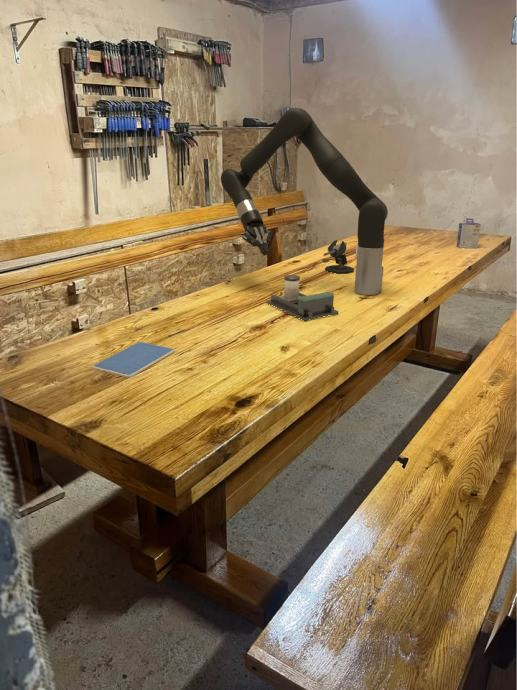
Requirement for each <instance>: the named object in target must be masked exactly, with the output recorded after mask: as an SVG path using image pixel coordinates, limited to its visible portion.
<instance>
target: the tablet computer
mask: <svg viewBox="0 0 517 690" xmlns="http://www.w3.org/2000/svg"><path fill="white" fill-rule="evenodd" d="M175 352H176V350H175V349H174V348H170V347H166V346H161V345H156V344H152V343H147V342H143V341H137V343H134V344H133V345H130V346H128V347H126V348H125V349H123V350H120V351H119V352H117V353H115V354H113V355H110V356H109V357H107V358H105V359H103V360H101V361H99V362H98V363H96V364H94V365H92V367H91V368H92V370H95V371H99V372H104V373H107V374H111V375H115V376H118V377H123V378H126V379H130V378H133V377H134V376H137V375H138V374H140V373H141V372H143V371H144V370H146V369H148V368H149V367H151V366H153V365H155V364H156V363H158V362H160V361H161V360H164V358H166V357H169V356H170V355H172V354H174V353H175Z"/></svg>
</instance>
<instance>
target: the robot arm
mask: <svg viewBox="0 0 517 690" xmlns="http://www.w3.org/2000/svg"><path fill="white" fill-rule="evenodd" d="M294 137H295V138H296V139H297V140H299V141H300V142H301V143H302V145H303V146H304V147H306V149H307V151H309V153H310V154H311V155H310V156H311V157H312V159H313V161H314V163H315V164H316V167H317V168H318V170H319V172H320V173H321V174H322V175H323V176H324V177H325V179H327V181H328V182H329V183H330V184H331V185H332V186H333V187H334V188H335V189H336V190H338V191H339V192H340V193H341V194H343V195H345V196H346V198H348V199H349V200H350V201H351V202H352V203H353V205H354V206H355V207H356V208H357V210H358V219H357V220H358V221H357V235H356V237H357V242H358V249H357V258H356V262H355V263H356V264H355V278H354V279H355V280H354V292H355V293H356V294H359V295H363V296H375V295H378V294H380V293H382V290H383V278H384V277H383V276H384V269H385V268H384V266H383V259H384V258H383V257H384V247H385V245H384V244H385V234H384V233H385V225H386V223H385V221H386V220H387V218H388V213H389V211H388V207H387V205H386V203H384V201H383V200H381V199H380V198H379V197H378V196H377V195H376V194H375V193H374V192H373V191H372V190H371V189H370V188H369V187H368V186H367V185H366V184H365V183H364V181H363V179H362V178H361V177H360V175H359V174H358V173H357V172H356V170H355V169H354V167H353V166H352V165H351V164H350V162H349V161H348V160H347V159H346V158H345V156H344V155H343V154H342V153H341V152H340V151H339V150H338V149H337V147H335V146H334V145H333V143H332V142H331V141H330V140H329V139H328V138H327V137H326V136H325V135H324V134H323V133H322V131H321V129H320V128H319V127H318V126H317V124H316V123H315V121H314V120H313V118H312V117H311V115H310V113H308V111H307V110H306V109H303V108H299V107H298V108H297V107H292V108H289V109H288V110H285V112H284V113H283V114H282V115H281V117H280V119H278V121H277V122H276V124H275V125H274V126H273V127H272V129H271V130H270V131H269V132H268V134H266V136H265V137H264V138H262V140H261V141H260V142H259V143H258V144H257V145H255V147H253V148H252V149H251V150H250V151H249V152H248V153H247V154H246V155H244V157H243V158H242V159H241V160H240V162H239V165H240V169H241V170H240V171H237V170H235V169H233V168H226V169H224V170H223V171H222V173H221V175H220V183H221V186H222V188H223V189H224V190H225V192H226V194H227V195H228V197H230V199H231V200H232V202H233V205H234V207H235V209H236V212H237V213H236V214H237V216H238V218H239V220H240V222H241V225H242V227H243V229H244V232H243V235H242V236H241V239H242V240H244V241H245V242H246V243H248V244H249V245H250V246H252V247H253V248H254V247H257V248H258V249H259V251H260V253H261V255H263V257H265V256H269V253H270V249H269V246H268V245H269V243H270V242H271V239H272V237H273V234H274V230H273V229H267V227H266V225H265V224H264V220H263V218H262V215H261V214H260V211H259V209H258V207H257V205H256V203H255V202H254V199H253V198H252V195H251V193H250V192H249V190H248V189H246V188H247V186H248V185H249V183H250V182H251V181H252V179H253V178H254V176H255V174H256V173H258V172H259V171H260V169H262V168H263V167H264V166H265V165H266V164H267V163H268V162H270V160H271V158H273V156H274V154H275V153H276V152H277V151H278V150H279V149H280V148H281V147H282V146H283V145H285V143H287V142H288V141H290V140H291V139H294Z"/></svg>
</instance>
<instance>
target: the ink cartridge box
mask: <svg viewBox="0 0 517 690" xmlns="http://www.w3.org/2000/svg"><path fill="white" fill-rule="evenodd" d="M481 228H482V224H481V223H478V222H474V218H466V220H465V222H459V224H458V231H457V239H456V247H457V248H459V249H468V248H469V249H477V248H478V247H479V241H480V234H481Z"/></svg>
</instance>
